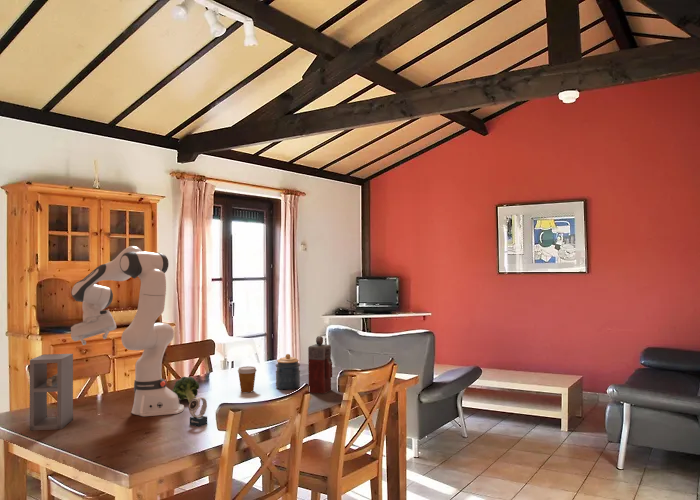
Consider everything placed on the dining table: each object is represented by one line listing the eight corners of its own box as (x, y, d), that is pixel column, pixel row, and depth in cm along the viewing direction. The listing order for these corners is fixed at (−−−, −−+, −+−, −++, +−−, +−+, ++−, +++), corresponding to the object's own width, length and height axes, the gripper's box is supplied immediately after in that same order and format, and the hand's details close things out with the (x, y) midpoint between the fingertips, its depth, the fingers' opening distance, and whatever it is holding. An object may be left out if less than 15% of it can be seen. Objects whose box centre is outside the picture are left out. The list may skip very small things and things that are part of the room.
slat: (70, 375, 258) (70, 368, 258) (51, 386, 236) (51, 378, 236) (65, 375, 258) (65, 368, 258) (46, 386, 236) (46, 379, 236)
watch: (186, 426, 236) (186, 399, 236) (200, 421, 243) (200, 394, 243) (196, 428, 233) (196, 400, 233) (210, 423, 240) (210, 396, 240)
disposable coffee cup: (258, 389, 302) (258, 366, 302) (253, 393, 293) (253, 369, 293) (240, 389, 303) (240, 366, 303) (235, 393, 294) (235, 369, 294)
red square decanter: (328, 394, 291) (328, 338, 291) (308, 392, 295) (308, 337, 295) (335, 390, 299) (335, 335, 299) (315, 388, 303) (315, 334, 303)
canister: (299, 390, 300) (298, 355, 300) (273, 390, 300) (273, 356, 300) (301, 384, 313) (301, 351, 313) (277, 384, 313) (277, 352, 313)
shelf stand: (76, 416, 251) (76, 352, 252) (61, 428, 233) (61, 359, 234) (47, 418, 250) (47, 352, 250) (29, 430, 232) (29, 359, 232)
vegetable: (174, 402, 268) (165, 382, 279) (188, 416, 276) (178, 396, 287) (196, 385, 270) (186, 366, 281) (209, 399, 279) (199, 381, 290)
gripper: (68, 321, 278) (68, 343, 269) (112, 309, 282) (114, 330, 273) (73, 329, 282) (74, 351, 273) (116, 317, 287) (118, 338, 278)
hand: (94, 341), depth 273 cm, fingers open, 8 cm apart
